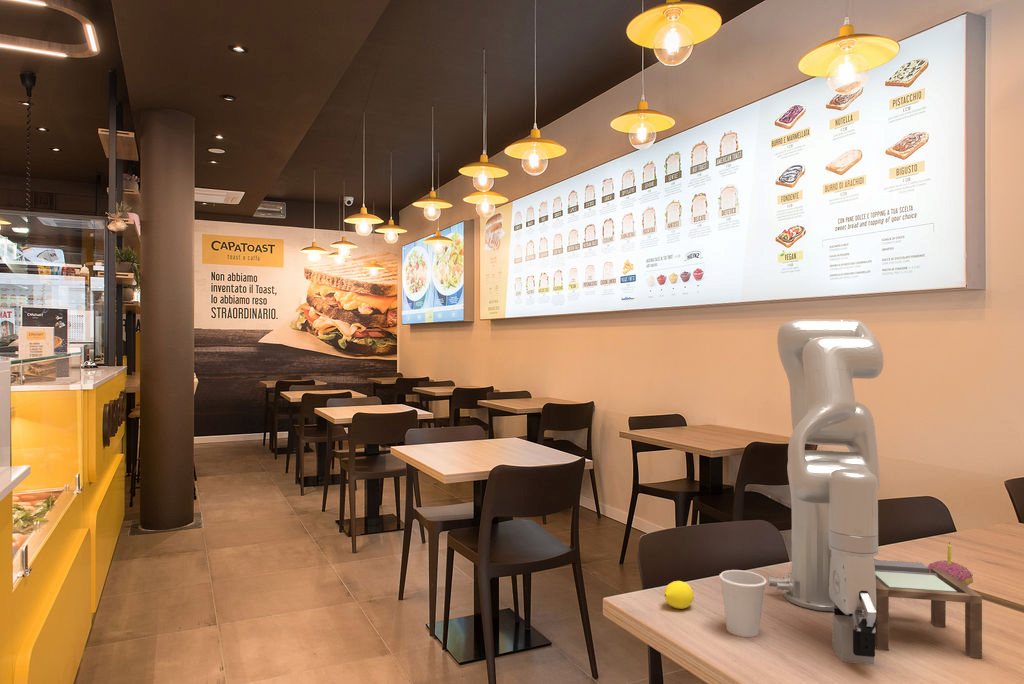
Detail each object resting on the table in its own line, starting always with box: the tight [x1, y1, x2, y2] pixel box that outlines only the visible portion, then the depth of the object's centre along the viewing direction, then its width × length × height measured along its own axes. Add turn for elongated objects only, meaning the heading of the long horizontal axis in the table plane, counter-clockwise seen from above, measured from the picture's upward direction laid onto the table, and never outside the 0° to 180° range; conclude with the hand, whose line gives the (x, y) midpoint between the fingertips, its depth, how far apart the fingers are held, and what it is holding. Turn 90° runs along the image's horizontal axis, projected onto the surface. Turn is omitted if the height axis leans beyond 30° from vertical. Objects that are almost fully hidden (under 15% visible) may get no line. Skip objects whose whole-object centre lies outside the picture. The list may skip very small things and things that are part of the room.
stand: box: [856, 568, 983, 659], centre depth 120 cm, size 17×15×11 cm
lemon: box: [663, 580, 695, 610], centre depth 132 cm, size 7×5×5 cm
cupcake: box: [927, 541, 974, 587], centre depth 142 cm, size 9×8×12 cm
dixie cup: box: [718, 569, 768, 638], centre depth 122 cm, size 8×8×10 cm
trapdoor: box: [874, 559, 957, 593], centre depth 122 cm, size 12×14×3 cm
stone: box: [832, 614, 875, 665], centre depth 112 cm, size 5×5×6 cm
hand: (853, 643), depth 111 cm, fingers open, 9 cm apart
